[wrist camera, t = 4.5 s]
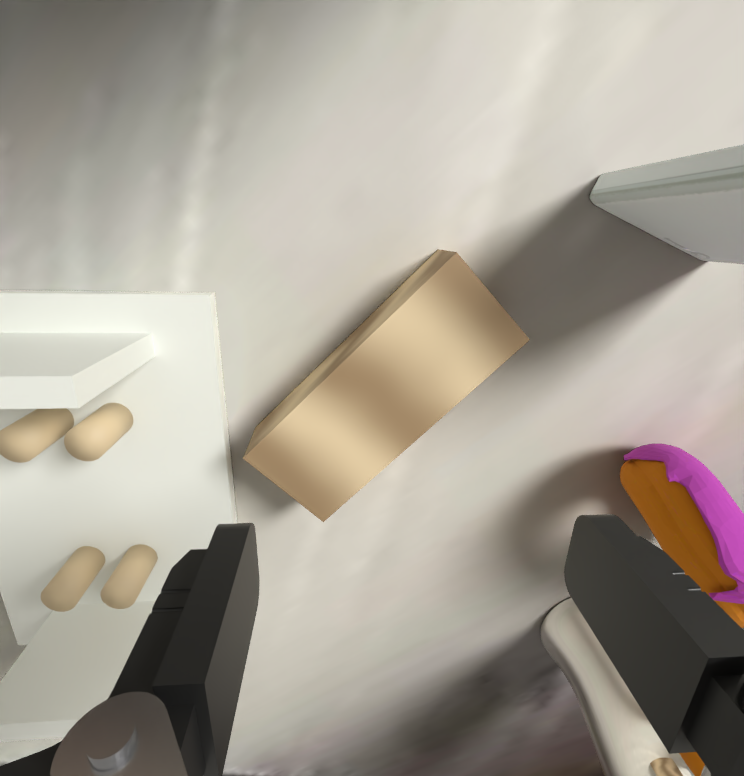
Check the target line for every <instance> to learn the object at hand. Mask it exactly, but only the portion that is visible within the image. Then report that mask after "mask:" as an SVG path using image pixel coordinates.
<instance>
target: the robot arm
mask: <svg viewBox="0 0 744 776" xmlns="http://www.w3.org/2000/svg"><path fill="white" fill-rule="evenodd" d="M564 574H565V582H566V586H567V589H568V592H569V594H570V596H571V598H572V599H573V601H574V603H575V604H576V606H577V607H578V609H579V611H580V612H581V614H582V615H583V617H584V619H585V620H586V622H587V623H588V625H589V627H590V628H591V630H592V631H593V633H594V635H595V636H596V638H597V639H598V641H599V643H600V644H601V646H602V647H603V649H604V650H605V652H606V654H607V655H608V657H609V658H610V660H611V662H612V663H613V665H614V666H615V668H616V670H617V671H618V673H619V674H620V676H621V678H622V679H623V681H624V682H625V684H626V686H627V687H628V689H629V690H630V692H631V694H632V695H633V697H634V698H635V700H636V702H637V703H638V705H639V706H640V708H641V710H642V711H643V713H644V714H645V716H646V717H647V719H648V721H649V722H650V724H651V725H652V727H653V729H654V730H655V732H656V733H657V735H658V737H659V738H660V740H661V741H662V743H663V745H664V746H665V748H666V749H667V751H668V753H669V754H673V753H687V752H697V754H698V755H699V757H700V758H701V760H702V761H703V763H704V764H705V766H704V768H703V770H702V773H701V776H744V630H743V629H742V628H741V627H740V626H739V625H738V624H737V623H736V622H735V621H734V620H733V619H732V618H731V617H730V616H729V615H728V614H727V613H726V612H725V611H724V610H723V609H722V608H721V607H720V606H719V605H718V604H717V603H716V602H715V601H714V600H713V599H712V598H711V597H710V596H709V595H708V594H707V593H706V592H702V591H701V587H700V586H699V585H698V584H697V583H696V582H695V581H694V580H693V579H692V578H691V577H690V576H689V575H685V571H684V570H683V569H682V568H681V567H680V566H679V565H678V564H677V563H676V562H675V561H674V560H673V559H672V558H671V557H670V556H669V555H668V554H667V553H666V552H664V551H663V550H661V549H660V548H658V547H656V546H655V545H653V544H652V543H650V542H649V541H647V540H645V539H644V538H642V537H637V536H636V535H635V534H634V533H633V532H632V531H631V530H630V528H629V527H628V526H627V525H626V524H625V523H624V522H623V521H622V520H621V519H620V518H619V517H617V516H616V515H611V514H610V515H581V516H579V517H578V518H577V519H576V521H575V524H574V529H573V533H572V537H571V542H570V546H569V550H568V555H567V559H566V564H565V570H564ZM258 598H259V569H258V557H257V545H256V533H255V526H254V524H253V523H236V524H218V525H217V527H216V529H215V531H214V534H213V536H212V539H211V541H210V544H209V546H208V548H207V549H191V550H190V551H189V552H188V553H187V554H185V555H184V556H183V557H182V558H181V559H180V560H179V561H178V562H177V563H176V564H175V565H174V566H173V567H172V568H171V570H170V572H169V574H168V577H167V579H166V581H165V583H164V585H163V587H162V589H161V594H159V595H158V597H157V599H156V601H155V603H154V606H153V608H152V613H150V614H149V616H148V618H147V620H146V622H145V624H144V626H143V628H142V630H141V632H140V635H139V637H138V639H137V641H136V643H135V645H134V647H133V649H132V651H131V653H130V655H129V657H128V659H127V661H126V664H125V666H124V668H123V670H122V672H121V674H120V676H119V678H118V680H117V682H116V684H115V686H114V688H113V690H112V692H111V694H110V696H109V697H108V699H107V700H105V701H104V702H102V703H100V704H99V705H97V706H95V707H94V708H93V709H91V710H90V711H89V712H87V713H86V714H85V715H84V716H83V717H82V718H81V719H79V720H78V721H77V722H76V723H75V725H74V726H73V727H72V728H71V729H70V730H69V732H68V733H67V734H66V736H65V737H64V739H63V740H62V741H61V742H59V743H57V744H55V745H54V746H52V747H49V748H47V749H45V750H42V751H40V752H37V753H35V754H32V755H29V756H27V757H24V758H21V759H19V760H16V761H13V762H11V763H8V764H5V765H3V766H0V776H222V774H223V769H224V764H225V759H226V755H227V750H228V745H229V740H230V735H231V731H232V726H233V721H234V716H235V712H236V707H237V702H238V697H239V693H240V688H241V683H242V678H243V673H244V669H245V664H246V659H247V654H248V650H249V645H250V640H251V635H252V630H253V626H254V621H255V616H256V611H257V606H258Z"/></svg>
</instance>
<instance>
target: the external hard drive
mask: <svg viewBox="0 0 744 776" xmlns="http://www.w3.org/2000/svg"><path fill="white" fill-rule="evenodd" d="M590 200H591V201H592V203H593V204H594V205H596V206H598V207H600V208H601V209H603V210H605V211H607V212H609V213H611V214H613V215H615V216H617V217H619V218H620V219H622V220H624V221H626V222H628V223H630V224H632V225H634V226H636V227H638V228H640V229H641V230H643V231H645V232H647V233H649V234H651V235H653V236H655V237H657V238H658V239H660V240H662V241H664V242H666V243H668V244H670V245H672V246H674V247H676V248H678V249H680V250H682V251H683V252H685V253H687V254H689V255H691V256H693V257H695V258H698V259H700V260H702V261H710V262H724V263H737V264H744V144H743V145H738V146H733V147H729V148H724V149H719V150H714V151H709V152H705V153H700V154H695V155H690V156H686V157H681V158H676V159H671V160H666V161H661V162H656V163H652V164H647V165H642V166H637V167H632V168H628V169H623V170H618V171H613V172H608V173H604V174H601V175H600V177H599V178H598V180H597V182H596V184H595V186H594V188H593V189H592V191H591V194H590Z"/></svg>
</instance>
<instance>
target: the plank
mask: <svg viewBox="0 0 744 776" xmlns="http://www.w3.org/2000/svg"><path fill="white" fill-rule="evenodd" d="M529 340H530V339H529V338H528V337H527V336H526V334H525V333H524V332H523V331H522V330H521V328H520V327H519V326H518V325H517V324H516V322H515V321H514V320H513V319H512V318H511V317H510V315H509V314H508V313H507V312H506V311H505V309H504V308H503V307H502V306H501V305H500V303H499V302H498V301H497V300H496V299H495V297H494V296H493V295H492V294H491V293H490V291H489V290H488V289H487V288H486V287H485V286H484V284H483V283H482V282H481V281H480V280H479V278H478V277H477V276H476V275H475V274H474V272H473V271H472V270H471V269H470V268H469V266H468V265H467V264H466V263H465V262H464V260H463V259H462V258H461V257H460V256H459V255H458V253H457V252H451V251H444V250H437V251H436V252H435V253H434V254H433V255H432V256H431V257H430V258H429V259H428V260H427V261H426V262H425V263H424V264H422V265H421V266H420V267H419V268H418V269H417V270H416V271H415V272H414V273H413V274H412V275H411V276H410V277H409V278H408V279H407V280H406V281H405V282H404V283H403V284H402V285H401V286H400V287H399V288H398V289H397V290H396V291H395V292H394V293H393V294H392V295H391V296H390V297H389V298H388V299H387V300H386V301H385V302H384V303H382V304H381V305H380V306H379V307H378V308H377V309H376V310H375V311H374V312H373V313H372V314H371V315H370V316H369V317H368V318H367V319H366V320H365V321H364V322H363V323H362V324H361V325H360V326H359V327H358V328H357V329H356V330H355V331H354V332H353V333H352V334H351V335H350V336H349V337H348V338H347V339H346V340H345V341H343V342H342V343H341V344H340V345H339V346H338V347H337V348H336V349H335V350H334V351H333V352H332V353H331V354H330V355H329V356H328V357H327V358H326V359H325V360H324V361H323V362H322V363H321V364H320V365H319V366H318V367H317V368H316V369H315V370H314V371H313V372H312V373H311V374H310V375H309V376H308V377H307V378H306V379H304V380H303V381H302V382H301V383H300V384H299V385H298V386H297V387H296V388H295V389H294V390H293V391H292V392H291V393H290V394H289V395H288V396H287V397H286V398H285V399H284V400H283V401H282V402H281V403H280V404H279V405H278V406H277V407H276V408H275V409H274V410H273V411H272V412H271V413H270V414H269V415H268V416H267V417H266V418H264V419H263V420H262V421H261V422H260V423H259V424H258V425H257V426H256V427H255V430H254V432H253V435H252V437H251V440H250V442H249V445H248V447H247V450H246V452H245V454H244V457H243V459H244V460H245V461H247V462H248V463H249V464H251V465H252V466H253V467H254V468H256V469H257V470H258V471H259V472H261V473H262V474H263V475H264V476H266V477H267V478H268V479H270V480H271V481H272V482H273V483H275V484H276V485H277V486H278V487H280V488H281V489H282V490H283V491H285V492H286V493H287V494H289V495H290V496H291V497H292V498H294V499H295V500H296V501H297V502H299V503H300V504H301V505H302V506H304V507H305V508H306V509H308V510H309V511H310V512H311V513H313V514H314V515H315V516H316V517H318V518H319V519H320V520H321V521H323V522H324V521H325V520H326V519H327V518H328V517H330V516H331V515H332V514H333V513H334V512H335V511H336V510H338V509H339V508H340V507H341V506H342V505H343V504H344V503H346V502H347V501H348V500H349V499H350V498H351V497H352V496H353V495H355V494H356V493H357V492H358V491H359V490H360V489H361V488H363V487H364V486H365V485H366V484H367V483H368V482H369V481H370V480H372V479H373V478H374V477H375V476H376V475H377V474H378V473H380V472H381V471H382V470H383V469H384V468H385V467H386V466H387V465H389V464H390V463H391V462H392V461H393V460H394V459H395V458H397V457H398V456H399V455H400V454H401V453H402V452H403V451H404V450H406V449H407V448H408V447H409V446H410V445H411V444H412V443H414V442H415V441H416V440H417V439H418V438H419V437H420V436H421V435H423V434H424V433H425V432H426V431H427V430H428V429H429V428H431V427H432V426H433V425H434V424H435V423H436V422H437V421H439V420H440V419H441V418H442V417H443V416H444V415H445V414H446V413H448V412H449V411H450V410H451V409H452V408H453V407H454V406H456V405H457V404H458V403H459V402H460V401H461V400H462V399H463V398H465V397H466V396H467V395H468V394H469V393H470V392H471V391H473V390H474V389H475V388H476V387H477V386H478V385H479V384H480V383H482V382H483V381H484V380H485V379H486V378H487V377H488V376H490V375H491V374H492V373H493V372H494V371H495V370H496V369H497V368H499V367H500V366H501V365H502V364H503V363H504V362H505V361H507V360H508V359H509V358H510V357H511V356H512V355H513V354H514V353H516V352H517V351H518V350H519V349H520V348H521V347H522V346H524V345H525V344H526V343H527V342H528V341H529Z"/></svg>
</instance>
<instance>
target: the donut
mask: <svg viewBox="0 0 744 776" xmlns="http://www.w3.org/2000/svg"><path fill="white" fill-rule="evenodd" d="M629 459H631V460H629ZM624 460H628V461H626V462H625V463H624V464H623V465H622V467H621V470H620V480H621V483H622V486H623V487H624V489H625V490H626V492H627V493H628V495H629V496H630V498H631V499H632V501H633V502H634V504H635V505H636V507H637V508H638V510H639V512H640V513H641V515H642V516H643V518H644V519H645V521H646V523H647V524H648V526H649V528H650V529H651V531H652V533H653V534H654V536H655V538H656V539H657V541H658V543H659V544H660V546H661V548H662V549H663V551H664V552H666V553H667V554H668V555H669V556H670V557H671V558H672V559H673V560H674V561H675V562H676V563H677V564H678V565H679V566H680V567H681V568H682V569H683V570H684V571H685V575H689V576H690V577H691V578H692V579H693V580H694V581H695V582H696V583H697V584H698V585H699V586H700V587H701V591H702V592H706V593H707V594H708V595H709V596H710V597H711V598H712V599H713V600H714V601H715V602H716V603H717V604H718V605H719V606H720V607H721V608H722V609H723V610H724V611H725V612H726V613H727V614H728V615H729V616H730V617H731V618H732V619H733V620H734V621H735V622H736V623H737V624H738V625H739V626H740V627H741V628H744V514H743V513H742V511H741V510H740V508H739V507H738V506H737V504H736V503H735V502H734V500H733V499H732V498H731V496H730V495H729V493H728V492H727V491H726V489H725V488H724V487H723V485H722V484H721V483H720V481H719V480H718V479H717V478H716V477H715V476H714V475H713V474H712V473H711V472H710V471H709V469H708V468H707V467H706V466H705V465H704V464H702V463H701V462H700V461H699V460H697V459H696V458H695V457H693V456H692V455H690V454H688V453H687V452H685V451H684V450H682V449H680V448H677V447H674V446H671V445H666V444H648V445H643V446H640V447H638V448H635V449H634V450H632V451H631V452H630V453H628V454H625V455H624Z"/></svg>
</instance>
